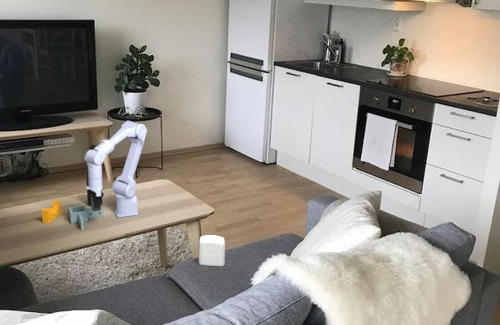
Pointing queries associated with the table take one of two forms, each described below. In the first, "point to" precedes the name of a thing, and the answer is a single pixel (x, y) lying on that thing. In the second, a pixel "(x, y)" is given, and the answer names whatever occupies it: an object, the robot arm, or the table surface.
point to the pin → (94, 207)
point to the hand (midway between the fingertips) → (96, 205)
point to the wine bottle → (88, 181)
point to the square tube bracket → (83, 214)
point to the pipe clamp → (51, 212)
